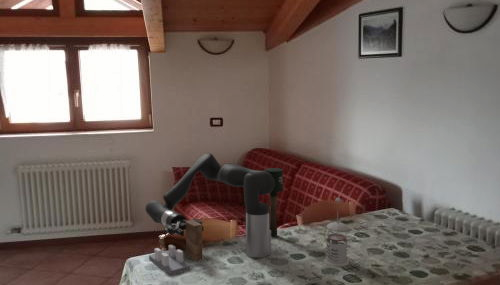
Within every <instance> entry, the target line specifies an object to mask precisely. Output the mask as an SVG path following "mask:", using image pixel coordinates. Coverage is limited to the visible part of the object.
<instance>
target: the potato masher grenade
mask: <svg viewBox="0 0 500 285" xmlns="http://www.w3.org/2000/svg"><path fill="white" fill-rule="evenodd" d="M264 171H266V172H268V173H270V174H271V175H272V177H273V178H274V181H275V186H274V189H273V190H272V191H271V192H270V193H269V230H271V238H272V237H273V238H274V237H275V238H276V237H277V236H278V226H277V206H278V205H277V204H278V193H279V192H280V193H281V192H283V191H284V187H283V186H284V184H283V180H284V179H283V169H282V168H279V167H268V168H265V169H264Z"/></svg>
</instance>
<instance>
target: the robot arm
mask: <svg viewBox="0 0 500 285" xmlns="http://www.w3.org/2000/svg"><path fill="white" fill-rule="evenodd" d="M199 172H200V173H201V174H202V176H203V177H204V178H205V179H206V180H209V181H210V180H211V181H217V182H220V183H224V184H226V185H228V186H231V187H236V188H237V187H238V188H243V200H244V202H243V203H244V206H245V254H246V256H247V257H249V258H256V259H257V258H265V257H268V256H269V255H270V254H271V253H272V237H271V230H270V204H268V203H266V202H262V201H260V199H259V196H265V195H267V194H270V192H271V191H272V190H273V189H274V186H275V181H274V178H273V177H272V175H271V174H270V173H268V172H266V171H265V170H255V169H251V168H248V167H246V166H245V167H244V166H241V165H239V164H235V163H230V162H229V163H225V164H224V165H222V166H221V165H220V163H219V161H218V160H217V159H216V158H215V156H214V155H213V154H212V153H209V152H208V153H205V154H202V155H201V156H200V157H199V158H198V159H197V160H196V161H195V162H193V164H192V165H191V167H189V169H188V170H187V171H186V172H185V173H184V175H183V176H182V177H181V178H180V180H178V182H177V183H175V185H173V186H172V187H171V188H169V190H168V191H166V192H165V193H164V194H163V195H162V198H163V200H164V204H163V203H162V202H160V201H159V200H151V201H148V202H147V204H146V205H145V212H146V214H147V215H148V216H149V217H150V219H152V221H153V222H154V223H156V224H161V225H163V226H164V227H165V232H166V233H167V234H169V235H170V236H173V235H174V234H175V235H178V236H180V237H184V236H185V231H186V221H190V220H188V219H187V218H186V217H185V215H183V214H181V213H179V212H177V211H175V210H173V209H174V208H175V207H176V206H177V204H178V203H180V202H181V201H182V200H183V199H184V198H185V197H186V196H187V195H188V192H189V191H190V189H191V186H192V183H193V180H194V179H195V176H196V175H197V174H198V173H199ZM192 220H194V221H196V222H198V223H200V224H202V232H204V226H203V221H201V220H199V219H197V218H192Z"/></svg>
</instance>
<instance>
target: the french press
mask: <svg viewBox="0 0 500 285" xmlns="http://www.w3.org/2000/svg"><path fill="white" fill-rule="evenodd" d="M335 202H337V203H339V202H341V198H340V197H335ZM336 216H337V217H336V218H337V219H336V220H337V221H334V222H330V223H328V224H327V225H326V228H325V230H324V232H326V230H327V229H328V230H327V239H326V233H324V242H325V243H326V249H325V250H326V251H325V252H326V255H325V258H323V262H324V264H326V265H329V266H332V267H345V266H347V265H349V264H350V260H349V259H348V240H347V236H346V235H345V234H340V233H338V232H346V231H348V229H349V226H347V225H346V224H345V223H343V222H341V221H340V222H339V211H337V215H336ZM332 231H333V232H336V233H329V232H332Z"/></svg>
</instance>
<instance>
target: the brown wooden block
mask: <svg viewBox="0 0 500 285" xmlns="http://www.w3.org/2000/svg"><path fill="white" fill-rule="evenodd" d="M202 226H203V223H202V224H200V223H198V222H196V221H194V220H193V219H191V220H189V221H186V230H185V242H186V244H185V247H186V257H188V258H190V259H191V260H193V261H195V262H197V261H201V260H203V231H202Z"/></svg>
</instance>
